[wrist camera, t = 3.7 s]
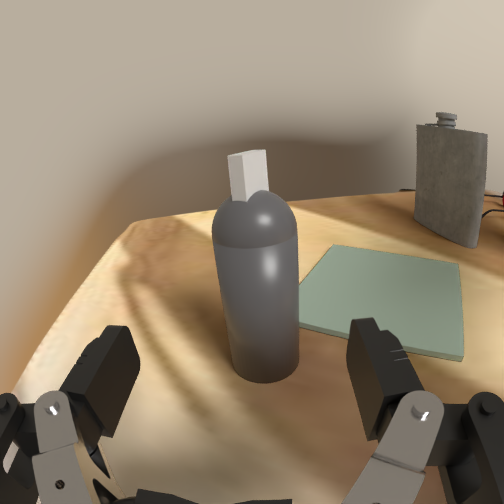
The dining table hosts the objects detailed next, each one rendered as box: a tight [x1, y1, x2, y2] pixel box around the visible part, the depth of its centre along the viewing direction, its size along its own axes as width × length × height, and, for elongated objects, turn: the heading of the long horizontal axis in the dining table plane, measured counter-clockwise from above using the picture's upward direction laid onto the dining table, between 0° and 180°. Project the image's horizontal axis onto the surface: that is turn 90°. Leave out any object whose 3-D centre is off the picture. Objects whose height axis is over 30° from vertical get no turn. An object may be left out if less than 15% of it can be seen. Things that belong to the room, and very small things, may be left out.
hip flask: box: [414, 112, 487, 248], centre depth 41 cm, size 16×4×20 cm, turn 10°
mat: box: [299, 244, 464, 362], centre depth 31 cm, size 18×18×1 cm
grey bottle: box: [212, 150, 299, 383], centre depth 21 cm, size 5×5×16 cm
